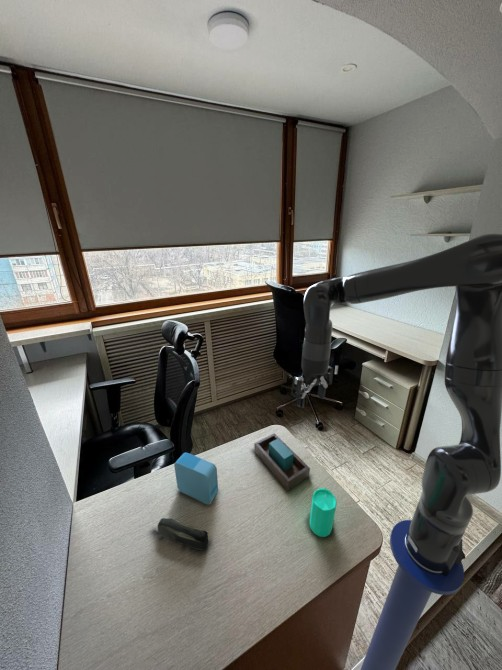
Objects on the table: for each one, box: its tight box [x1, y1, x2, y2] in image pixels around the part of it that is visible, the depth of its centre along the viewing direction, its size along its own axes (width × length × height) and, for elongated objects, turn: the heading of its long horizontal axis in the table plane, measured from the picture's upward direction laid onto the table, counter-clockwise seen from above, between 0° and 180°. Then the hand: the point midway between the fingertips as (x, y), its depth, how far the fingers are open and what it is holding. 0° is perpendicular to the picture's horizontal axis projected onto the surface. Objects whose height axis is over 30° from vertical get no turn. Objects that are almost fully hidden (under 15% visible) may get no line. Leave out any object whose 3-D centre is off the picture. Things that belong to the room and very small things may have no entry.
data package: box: [173, 452, 219, 505], centre depth 80 cm, size 12×4×12 cm, turn 65°
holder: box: [253, 432, 311, 491], centre depth 91 cm, size 18×9×4 cm, turn 33°
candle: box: [309, 487, 337, 538], centre depth 71 cm, size 6×6×12 cm
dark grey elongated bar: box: [152, 517, 209, 551], centre depth 69 cm, size 5×3×15 cm
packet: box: [269, 439, 295, 472], centre depth 90 cm, size 4×8×6 cm, turn 33°
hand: (310, 401), depth 81 cm, fingers open, 8 cm apart
